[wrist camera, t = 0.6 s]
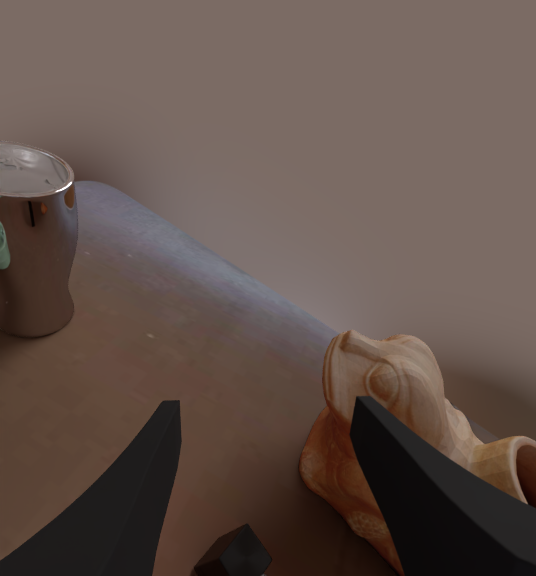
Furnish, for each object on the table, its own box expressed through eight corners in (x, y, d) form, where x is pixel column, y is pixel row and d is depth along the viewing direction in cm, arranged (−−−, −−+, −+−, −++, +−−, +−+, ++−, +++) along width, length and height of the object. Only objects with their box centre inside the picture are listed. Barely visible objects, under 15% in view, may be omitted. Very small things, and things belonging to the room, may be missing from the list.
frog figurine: (309, 358, 38) (383, 276, 29) (495, 521, 33) (661, 486, 23) (245, 440, 28) (327, 356, 19) (499, 699, 23) (800, 764, 13)
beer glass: (20, 276, 31) (-8, 127, 21) (92, 297, 32) (96, 168, 23) (-35, 328, 25) (-104, 163, 16) (54, 351, 27) (38, 212, 18)
